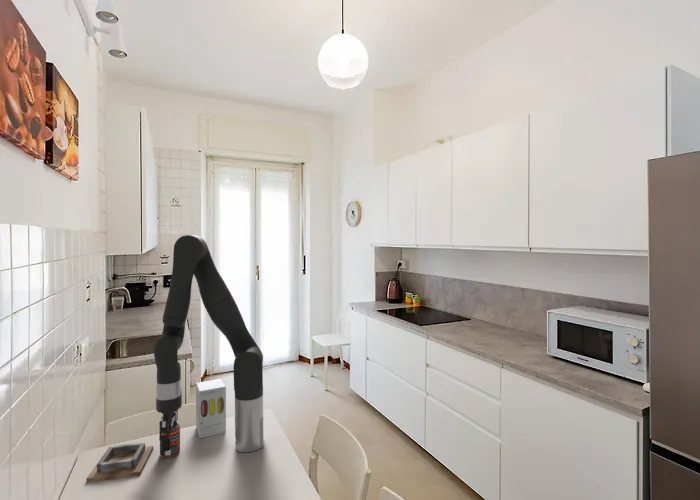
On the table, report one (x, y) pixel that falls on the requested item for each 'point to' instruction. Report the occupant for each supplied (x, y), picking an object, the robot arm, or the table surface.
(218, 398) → the supplement box
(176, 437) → the supplement bottle
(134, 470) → the collar holder
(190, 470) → the table surface
